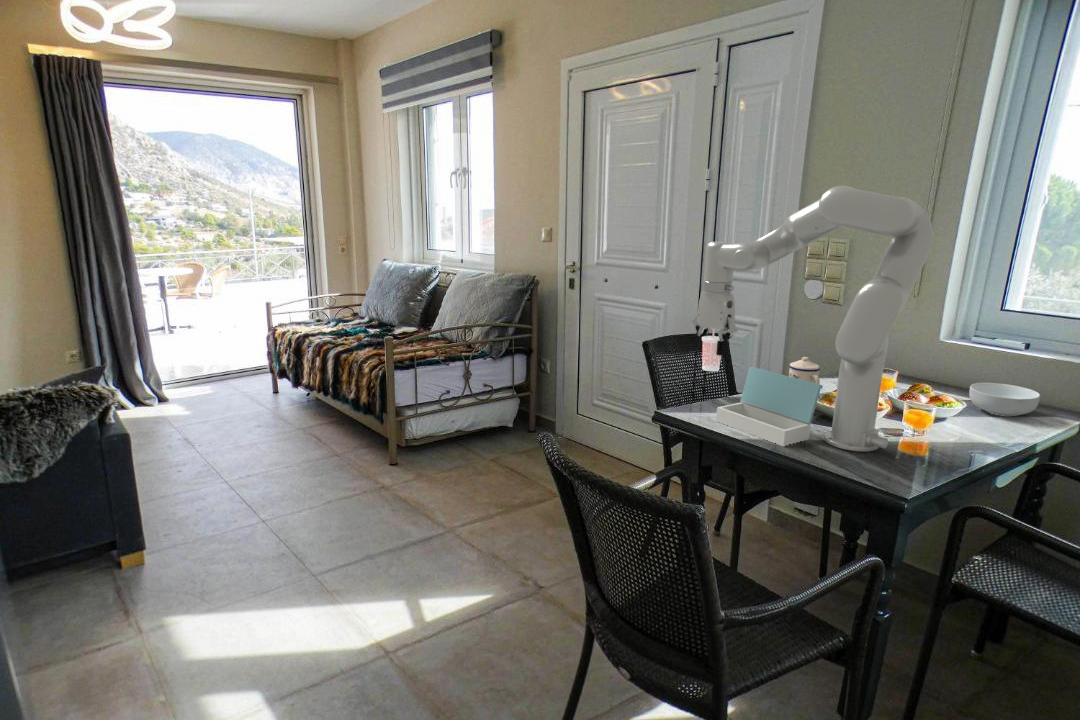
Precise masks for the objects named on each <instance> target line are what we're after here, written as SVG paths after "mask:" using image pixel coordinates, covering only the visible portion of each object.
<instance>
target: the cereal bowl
mask: <svg viewBox="0 0 1080 720" xmlns="http://www.w3.org/2000/svg"><path fill="white" fill-rule="evenodd" d="M968 392H969V394H968V395H969V399H970V401H971V402H972V404H973V405H975V406H976V407H977V408H979V409H981V410H983V411H984V410H985V411H987V412H990V413H993V414H998V415H1004V416H1016V415H1018V416H1021V415H1025V414H1029V413H1031V412H1033V411H1035V410H1036V408H1037V407H1038V406H1039V403H1040V399H1041V394H1040V393H1039V392H1037V391H1035V390H1033V389H1030V388H1027V387H1023V386H1018V385H1013V384H1006V383H997V382H976V383H972V384H971V385H970V386H969V391H968ZM985 411H984V412H985ZM987 412H986V413H987ZM1016 417H1017V416H1016Z"/></svg>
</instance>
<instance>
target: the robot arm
mask: <svg viewBox="0 0 1080 720" xmlns="http://www.w3.org/2000/svg"><path fill="white" fill-rule="evenodd" d="M843 227H844V228H848V229H853V230H858V231H862V232H867V233H872V234H875V235H879V236H883V237H884V236H886V237H890V240H889V244H888V247H887V248H886V250H885V252H884V253H883V254H884V255H883V256H882V258H881V259H880V263H879V265H878V267H877V269H876V270H875V273H874V275H873V277H872V278H871V280H870V281H868V282H866V283H865V284H863V286H862V287H860V289H859V290H858V291H857V293H856V295H855V297H854V299H853V301H852V302H851V305H850V307H849V309H848V311H847V313H846V315H845V318H844V320H843V322H842V324H841V326H840V328H839V331H838V333H837V334H836V336H835V337H836V338H835V341H834V342H835V344H834V345H835V350H836V352H837V354H838V356H839V357H840V358H841V359H840V365H839V370H838V378H837V385H836V391H835V392H836V393H835V401H834V408H833V409H834V411H833V417H832V424H831V430H829V431H827V432H825V433H824V435H823V441H825V442H826V443H827V444H829V445H831V446H833V447H834V448H839V449H843V450H847V451H852V452H873V451H876V450H878V449H880V448H882V449H886V448H887V447H888V442H889V439H888V438H887V437H884V436H880V435H879V430H880V429H877V428H875V427H876V421H877V415H878V408H879V407H878V406H879V401H880V393H881V386H882V382H883V381H882V380H883V373H884V367H885V361H886V358H887V353H888V348H889V339H890V337H889V333H890V331H891V328H892V326H894V324H895V321H896V319H897V317H898V315H899V313H901V312H902V311H903V310H904V309H905V307H906V304H907V302H908V299H909V297H910V294H911V292H912V290H913V289H914V286H915V284H916V282H917V280H918V277H919V276H920V273H921V271H922V269H923V267H924V266H925V263H926V261H927V259H928V256H929V254H930V252H931V248H932V245H933V240H934V230H933V224H932V221H931V219H930V217H929V215H928V214H927V212H926V211H925V210H924V208H923V207H921V206H920V205H919V204H918V202H916V201H914V200H912V199H910V198H908V197H903V196H895V195H889V194H884V193H883V194H882V193H878V192H873V191H867V190H863V189H857V188H855V187H853V186H848V185H837V186H833V187H832V188H829V189H828V190H827V191H825V192H824V193H823V194H822V196H821V197H820V198H819V199H818V200H816V201H814V202H812V203H810V204H808V205H807V206H805V207H803V208H801V209H799V210H798V211H795V212H793V213H791V215H789V216H787V218H786V219H785V221H784V223H782V225H781V226H779V227H778V228H776V229H774V230H773V231H771V232H769V233H768V234H766V235H764V236H762V237H761V238H758V239H756V240H754V241H748V242H747V241H746V242H738V243H733V242H729V241H710V242H708V244H707V245H706V249H705V259H704V272H703V282H702V283H703V285H702V291H701V293H700V296H699V297H700V298H699V301H698V307H697V315H696V316H695V317H694V318H693V319H692V320H691V321H692V324H693V326H694V327H695V330H696V332H697V336H698V349H697V350H698V351H703V341H702V337H703V336H709V335H708V334H709V331H710V330H712V331H713V330H715V331H717V335H718V337H719V340H720V341H718V342H717V353H716V354H717V355H721V356H724V355H727V351H728V350H727V349H728V348H727V347H728V342H729V341H730V339H731V338H733V336H734V335H735V334H736V333H737V332H738V328H737V326H736V323H735V321H736V320H735V319H736V317H735V316H736V302H735V295H734V294H733V293H732V292H733V291H734V290H735V286H734V285H733V278H734V271H736V272H741V273H747V272H752V271H757V270H760V269H764V268H766V267H767V266H769V265H771V264H773V263H775V262H777V261H780V260H781V259H783V258H785V257H787V256H789V255H791V254H793V253H795V252H796V251H798V250H801V249H803V248H804V247H807V246H808V245H810V244H812V243H813V242H815V241H818V240H819V239H822V238H823V237H825V236H827V235H829V234H831V233H833V232H835V231H837V230H839V229H841V228H843Z"/></svg>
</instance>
